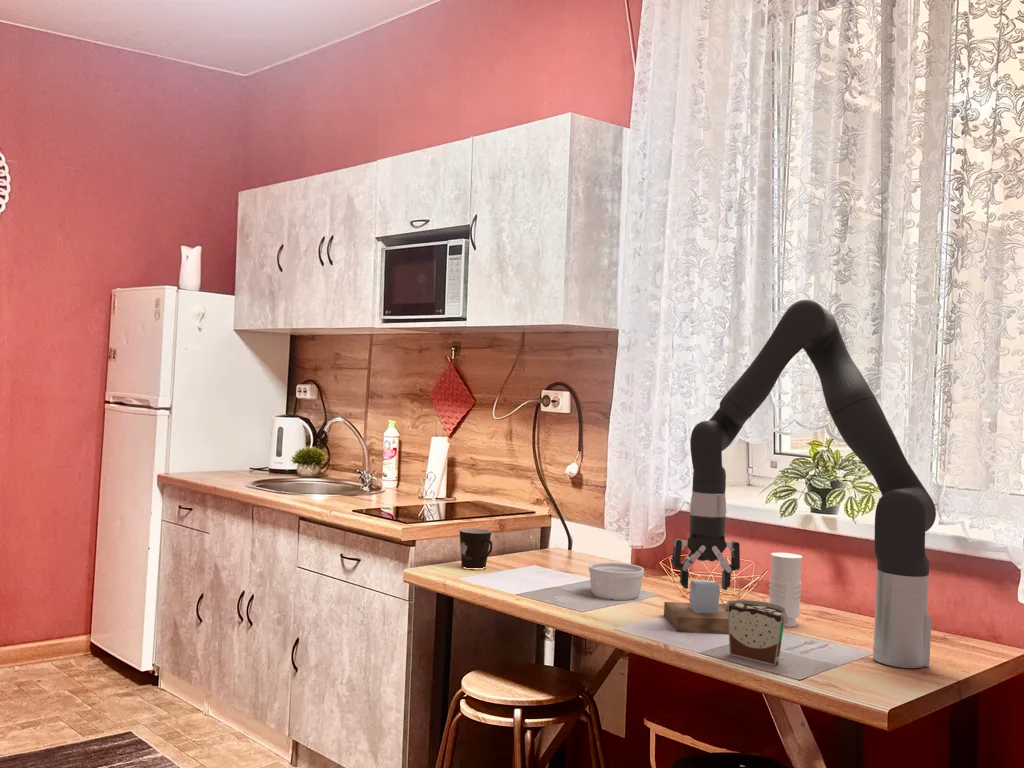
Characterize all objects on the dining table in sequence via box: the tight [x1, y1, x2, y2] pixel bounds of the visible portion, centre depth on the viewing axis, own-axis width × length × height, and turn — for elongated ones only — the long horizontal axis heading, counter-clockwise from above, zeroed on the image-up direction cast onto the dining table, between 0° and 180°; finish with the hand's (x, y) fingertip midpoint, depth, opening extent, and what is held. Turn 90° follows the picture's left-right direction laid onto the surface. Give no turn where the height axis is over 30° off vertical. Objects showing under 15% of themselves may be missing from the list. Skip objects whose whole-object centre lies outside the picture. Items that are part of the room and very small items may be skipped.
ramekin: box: [588, 561, 645, 601], centre depth 229 cm, size 13×13×7 cm
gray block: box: [689, 579, 720, 614], centre depth 204 cm, size 5×5×6 cm
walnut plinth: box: [663, 601, 729, 634], centre depth 204 cm, size 14×14×3 cm
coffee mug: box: [459, 527, 493, 568], centre depth 254 cm, size 12×9×10 cm
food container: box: [725, 599, 788, 667], centre depth 180 cm, size 12×6×10 cm, turn 48°
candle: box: [768, 551, 803, 628], centre depth 209 cm, size 7×7×15 cm
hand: (704, 588), depth 204 cm, fingers open, 8 cm apart
